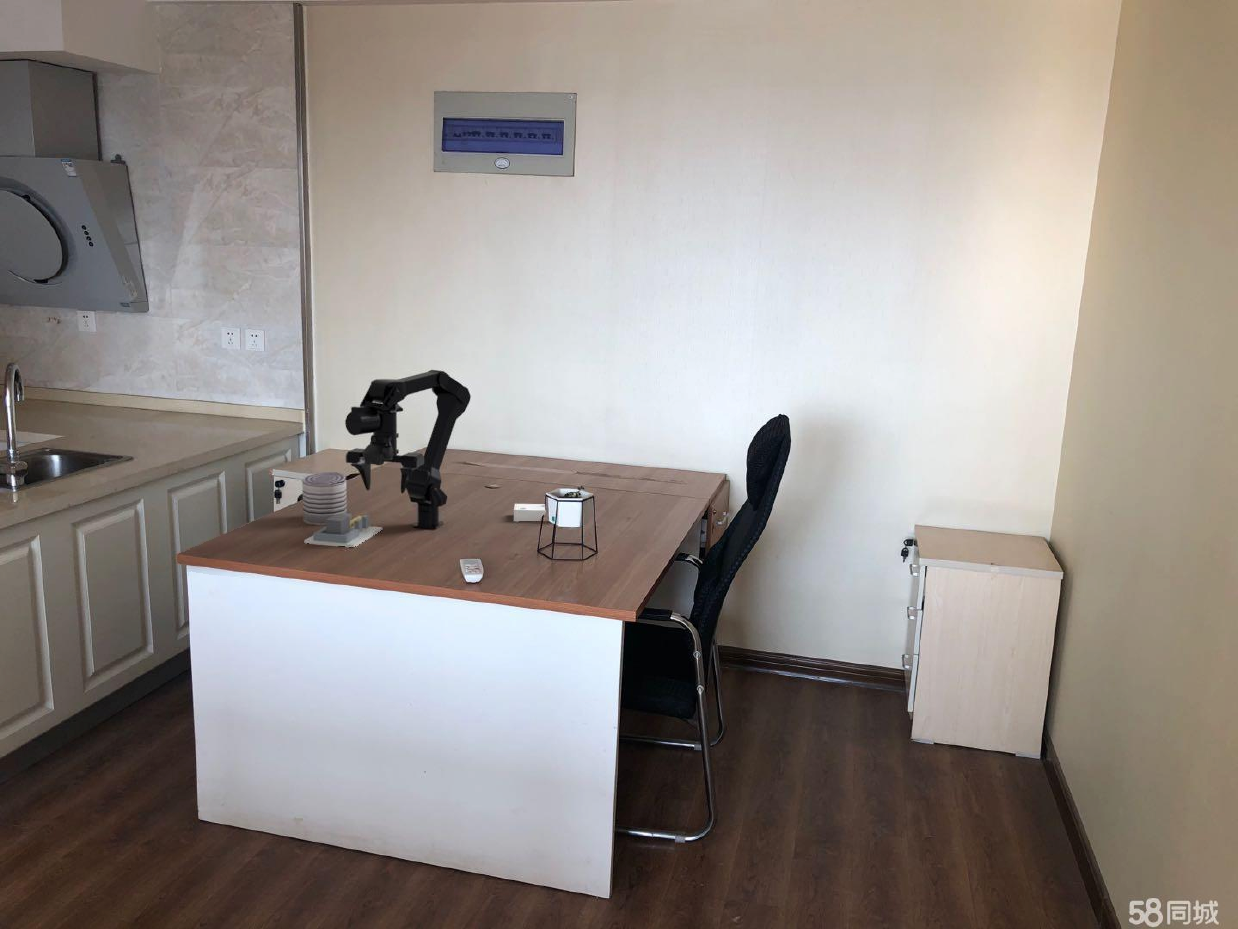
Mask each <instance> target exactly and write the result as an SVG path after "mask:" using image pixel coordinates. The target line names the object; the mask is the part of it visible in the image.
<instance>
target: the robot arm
mask: <svg viewBox="0 0 1238 929" xmlns="http://www.w3.org/2000/svg"><path fill="white" fill-rule="evenodd" d="M430 389H431V392H432V393H433V394H434V396H436V404H435V405H436V408H437V410H436V411H437V416H436V419H435V421H434V426H433V428H432V432H431V435H430V437H429V441H428V443H427V446H426V450H425V451H424V454H423V453H421V452H407V453H405V454H402V455H400V454H399V453H400V451H399V448H398V446H397V445H398V444H397V443H398V442H397V441H398V438H399V437H400V436H399V433H398V425H397V424H398V421H397V420H398V417H397V413H399V412H403V411H404V408H403V407H402V406H401V405H400V404H399V403H400V402H402V401H404V400H405V399H406V397H407V396H409V395H412V394H416V393H419V392H423V391H426V390H430ZM470 401H471V394H470V391H469V388H467V386H465V385H463V384H462V383H461V382H459V381H458V380H456V379H455V378H453V377H451V376H450V375H449V374H448V373H447V372H446V371H444V370H438V369H430V370H427V371H425V372H421V373H418V374H414V375H410V376H407V377H403V378H395V379H393V378H391V379H390V378H384V379H383V378H382V379H381V378H380V379H377V378H376V379H373V380H372V381H371V382H370V385H369V387H368V389H367V391H366V392H365V395H364V397H363V398H362V401H361V402H360V404H359V406H351V408H350V410H351V411H350V412H349V413H348V414H347V415H346V417H345V418H346V419H345V421H344V425H345V429H346V430H347V432H348V433H349V434H350V435H352V436H359V435H366V434H372V433H373V434H372V435H371V436H370V442H369V444H368V445H366V447H365V448H359V447H357V448H353V449H351V450H348V451H347V452H346V455H345V463H348V464H350V466H351V467H354V468H355V469H356V470H357V471H358V473H359V474H360V477H361V479H362V482H363V484H364V487H365V489H366V491H370V489H371V483H372V482H371V476H372V474H371V471H372V465H375V466H382V465H384V463H397V464H398V463H399V464H401V466H402V467H400V468H399V470H400V473H401V478H400V493H401V494H404V493H405V492H406V491H407V494H408V496H409V500H410V503H414V504H417V508H416V511H417V514H416V515H417V516H416V518H417V519H416V521H417V522H415V523H414V524H413V525H412V528H416V529H417V528H420V529H430V530H436V529H438V528H440V527H441V526H442V525H443V524H444V521H442V520H440V507H443V506H444V505H446V504H447V500H448V495H447V494H446V493H445V492H444V491H443V490H442V489H441V486H442V485H441V484H442V477H441V476H442V475H441V472H440V470H441V469H440V468H441V466H442V462H443V459H444V458H445V457H444V456H445V454H446V450H447V448H448V445H449V442H450V439H451V436H452V433H453V431H454V427H455V425H456V421H457V419H459V417H461V416H462V415H463V414H464V413H465V412H466V410H467V407H468V406H469V403H470Z"/></svg>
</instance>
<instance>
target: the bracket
mask: <svg viewBox="0 0 1238 929" xmlns="http://www.w3.org/2000/svg"><path fill="white" fill-rule="evenodd" d="M513 507H514V508H513V522H519V521H540V519H541V517H542V516H543V515H545V513H546V510H545V503H541V504H540V503H536V504H535V503H514V506H513Z"/></svg>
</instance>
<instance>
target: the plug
mask: <svg viewBox="0 0 1238 929" xmlns="http://www.w3.org/2000/svg"><path fill="white" fill-rule="evenodd" d="M362 516H363V515H358V516H357V517H355V518H352V520H351V521H350V516H342V515H334V516H332V517H330V518H328V519H326V525H325V527H326V533H328V534H339V535H345V534H346V533H348V532H350V528H351V527H353V526H354V525H355V523H354V521H355V520H357V519H362Z"/></svg>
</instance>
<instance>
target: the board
mask: <svg viewBox="0 0 1238 929" xmlns="http://www.w3.org/2000/svg"><path fill="white" fill-rule="evenodd" d="M344 516H350V521H351V520H352V519H353V514H352V513H347V514H346V515H344ZM361 516H362V519H357V520H355V521H354V523H355V525H354V526H353V527H351V528H350V532H348V533H346V534H345V535H339V534H328V533H326V526H324V527H322V528H320V529H319V530H316V531H315V532H312V533H313V534H312V535H311V536H309V537H307V538H306V539H304V544H307V543H309V544H308V545H318V546H330V547H338V546H345V547H344V548H349V547H355V546H356V547H358V546H360V545H361V544H363V543H364V542H366V541H367V540H369V539H371V538H373V537H374V536H376V535H377V534H378V532H379V533H380V531H381V530H382V531H383V526H371V525H370V515H369V514H368V515H367V514H364V515H361ZM382 531H381V532H382ZM375 534H376V535H375ZM373 535H374V536H373ZM365 540H366V541H365ZM362 542H363V543H362ZM359 544H360V545H359ZM356 547H355V548H356Z"/></svg>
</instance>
